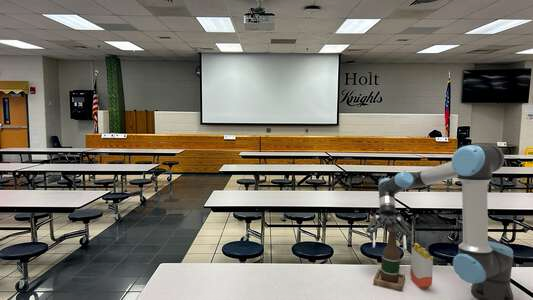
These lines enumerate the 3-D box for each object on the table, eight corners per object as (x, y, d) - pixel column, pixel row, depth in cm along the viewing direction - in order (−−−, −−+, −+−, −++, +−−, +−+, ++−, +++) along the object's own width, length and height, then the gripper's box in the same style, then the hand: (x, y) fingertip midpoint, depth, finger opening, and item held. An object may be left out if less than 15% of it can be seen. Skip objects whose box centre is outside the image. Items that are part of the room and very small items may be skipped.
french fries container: (419, 278, 164) (421, 241, 162) (432, 290, 153) (435, 251, 151) (409, 278, 163) (412, 241, 161) (422, 291, 153) (425, 251, 150)
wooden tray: (405, 279, 162) (405, 274, 162) (401, 291, 152) (402, 286, 151) (378, 273, 168) (378, 268, 168) (373, 284, 157) (373, 279, 157)
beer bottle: (400, 285, 155) (403, 232, 152) (381, 283, 157) (384, 231, 154) (397, 277, 163) (400, 226, 160) (379, 275, 164) (382, 225, 161)
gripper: (412, 213, 175) (416, 254, 162) (360, 209, 180) (360, 248, 167) (415, 205, 169) (420, 247, 156) (361, 201, 174) (362, 242, 161)
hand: (389, 248), depth 162 cm, fingers open, 13 cm apart
